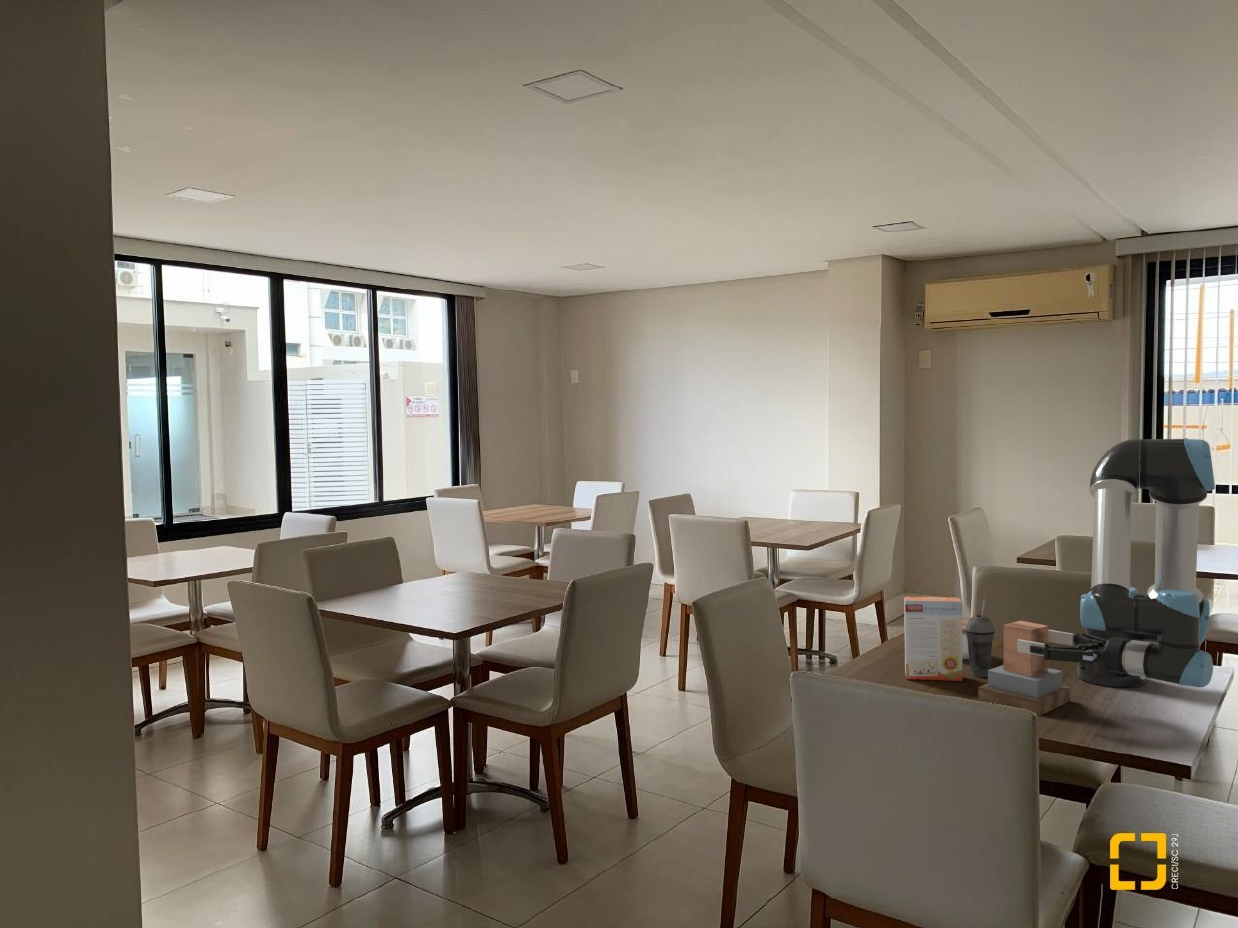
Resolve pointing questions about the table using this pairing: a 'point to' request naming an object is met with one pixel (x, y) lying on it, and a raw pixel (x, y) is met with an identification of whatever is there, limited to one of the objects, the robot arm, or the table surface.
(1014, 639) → the terracotta pillar block
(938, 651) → the cracker box
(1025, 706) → the walnut base slab
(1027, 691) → the slate top tile
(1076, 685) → the table surface
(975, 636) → the beverage cup
